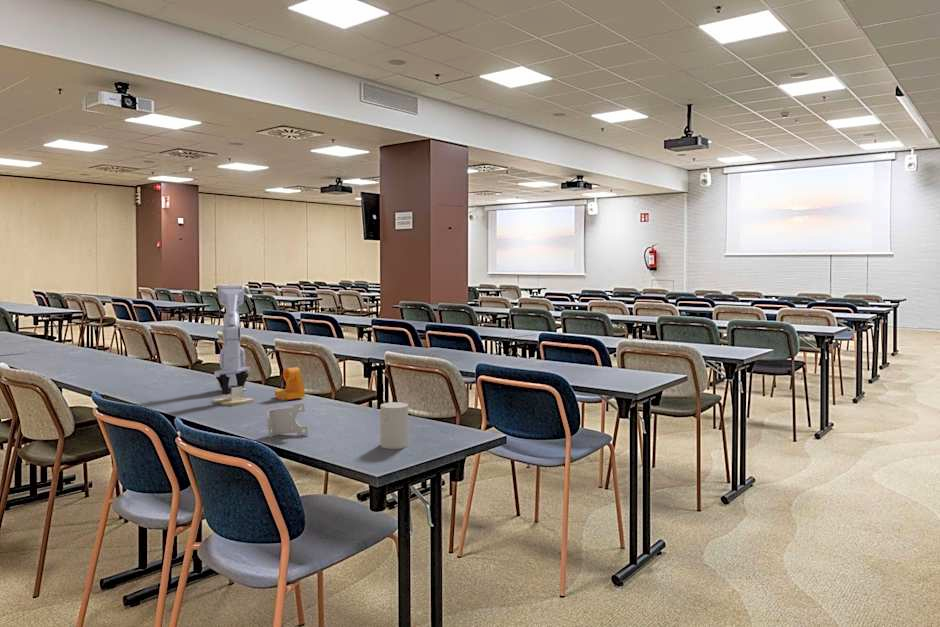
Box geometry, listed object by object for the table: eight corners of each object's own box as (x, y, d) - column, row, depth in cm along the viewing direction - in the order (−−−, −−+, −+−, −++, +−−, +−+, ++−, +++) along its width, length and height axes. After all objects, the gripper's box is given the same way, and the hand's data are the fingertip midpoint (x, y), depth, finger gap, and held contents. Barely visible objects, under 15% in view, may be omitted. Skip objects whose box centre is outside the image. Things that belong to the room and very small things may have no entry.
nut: (223, 399, 266) (223, 386, 265) (234, 397, 270) (234, 384, 270) (231, 401, 263) (231, 388, 263) (242, 399, 267) (242, 386, 267)
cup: (381, 441, 211) (381, 402, 210) (408, 441, 212) (408, 402, 211) (379, 448, 203) (379, 408, 202) (407, 448, 203) (407, 407, 202)
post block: (211, 402, 266) (211, 386, 266) (234, 397, 274) (234, 382, 274) (231, 406, 259) (231, 390, 259) (253, 401, 267) (253, 386, 267)
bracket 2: (269, 440, 215) (265, 408, 214) (275, 437, 219) (271, 405, 219) (304, 437, 213) (299, 405, 213) (309, 434, 218) (304, 402, 217)
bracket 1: (274, 397, 276) (273, 367, 275) (290, 395, 282) (289, 365, 281) (288, 401, 269) (288, 370, 268) (304, 398, 274) (304, 368, 273)
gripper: (222, 360, 257) (222, 397, 258) (254, 356, 269) (255, 391, 270) (210, 359, 261) (211, 395, 262) (243, 354, 273) (243, 389, 274)
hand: (232, 393), depth 266 cm, fingers open, 6 cm apart
